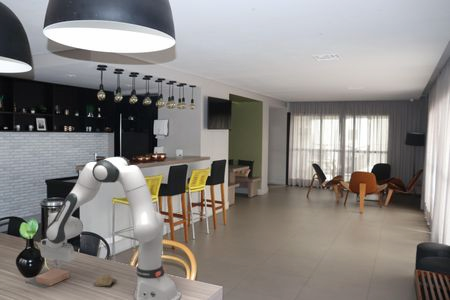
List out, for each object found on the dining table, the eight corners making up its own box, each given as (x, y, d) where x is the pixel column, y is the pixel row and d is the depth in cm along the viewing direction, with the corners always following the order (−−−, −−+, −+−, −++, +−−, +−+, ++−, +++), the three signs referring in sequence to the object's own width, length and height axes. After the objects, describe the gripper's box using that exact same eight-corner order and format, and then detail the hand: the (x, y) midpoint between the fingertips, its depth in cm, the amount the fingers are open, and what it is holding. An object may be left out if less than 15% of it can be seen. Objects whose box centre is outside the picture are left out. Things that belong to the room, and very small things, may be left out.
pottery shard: (92, 288, 181) (107, 287, 177) (91, 279, 182) (106, 278, 178) (107, 281, 191) (122, 280, 187) (106, 273, 191) (121, 271, 188)
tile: (69, 271, 190) (55, 268, 194) (50, 279, 179) (36, 276, 183) (69, 277, 191) (55, 274, 195) (50, 286, 180) (36, 282, 184)
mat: (70, 276, 193) (70, 275, 193) (45, 287, 178) (45, 287, 178) (51, 271, 198) (51, 271, 198) (25, 282, 184) (25, 282, 184)
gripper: (77, 242, 183) (77, 269, 184) (48, 237, 192) (48, 262, 192) (67, 246, 178) (67, 273, 178) (38, 240, 186) (38, 266, 186)
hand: (57, 267), depth 185 cm, fingers closed
